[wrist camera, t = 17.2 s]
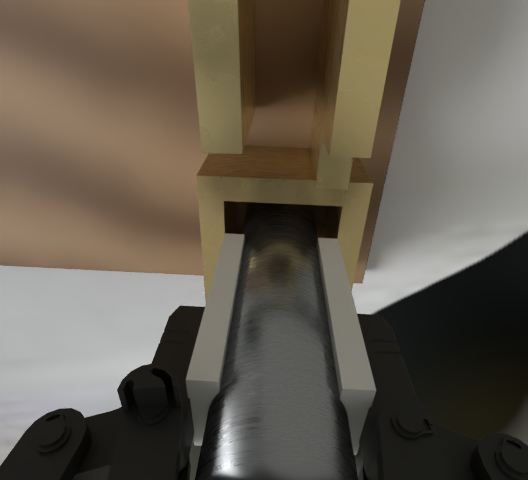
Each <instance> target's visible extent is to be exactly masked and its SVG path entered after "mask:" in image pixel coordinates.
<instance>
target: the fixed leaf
mask: <svg viewBox="0 0 528 480" xmlns="http://www.w3.org/2000/svg"><path fill="white" fill-rule="evenodd" d="M400 1H401V0H324V5H323V16H322V26H321V36H320V46H319V57H318V67H317V77H316V87H315V98H314V108H313V118H312V129H311V139H310V148H296V147H272V146H248V145H245V147H244V150H243V154H217V153H209V154H208V155H207V157H206V159H205V161H204V163H203V164H202V166H201V168H200V170H199V172H198V173H197V175H196V179H197V192H198V205H199V219H200V232H201V245H202V258H203V272H204V285H205V298H206V302H207V298H208V295H209V291H210V287H211V283H212V280H213V276H214V272H215V268H216V265H217V261H218V257H219V254H220V250H221V246H222V242H223V239H224V235H225V233H226V234H236V202H257V203H279V204H301V205H323V206H326V207H325V215H324V222H323V230H322V237H321V238H332V239H338V241H339V245H340V249H341V253H342V257H343V260H344V264H345V268H346V272H347V276H348V280H349V284H350V288H351V291H352V286H353V281H354V276H355V271H356V266H357V261H358V256H359V252H360V247H361V242H362V237H363V232H364V227H365V222H366V217H367V212H368V207H369V202H370V197H371V193H372V188H373V182H372V180H371V178H370V176H369V175H368V173H367V171H366V169H365V167H364V166H363V164H362V162H361V160H360V158H371V153H372V148H373V143H374V137H375V132H376V127H377V122H378V116H379V111H380V106H381V101H382V95H383V90H384V85H385V80H386V75H387V69H388V64H389V59H390V54H391V48H392V43H393V38H394V33H395V27H396V22H397V17H398V12H399V7H400Z"/></svg>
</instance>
